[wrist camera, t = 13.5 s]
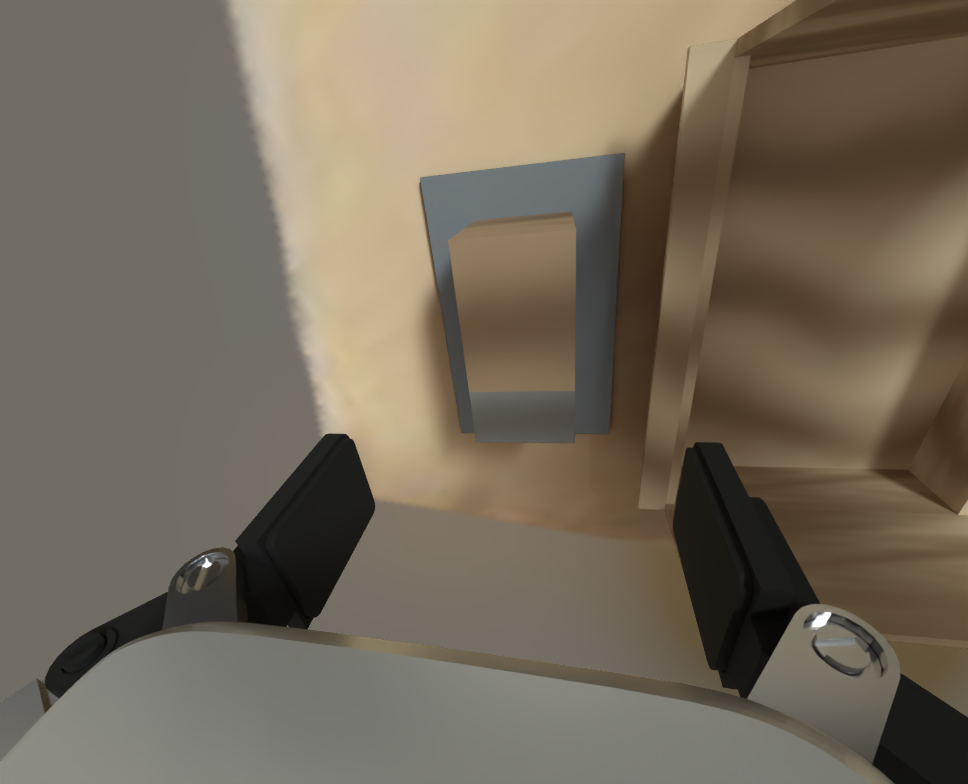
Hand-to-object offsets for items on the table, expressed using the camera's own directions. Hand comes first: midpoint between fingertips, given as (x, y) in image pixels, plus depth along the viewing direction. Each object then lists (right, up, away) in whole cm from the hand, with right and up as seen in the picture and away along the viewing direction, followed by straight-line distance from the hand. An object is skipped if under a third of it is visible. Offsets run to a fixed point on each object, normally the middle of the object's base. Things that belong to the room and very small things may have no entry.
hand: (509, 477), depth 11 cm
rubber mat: (+2, +7, +12) cm, 14 cm away
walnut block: (+2, +7, +12) cm, 14 cm away
